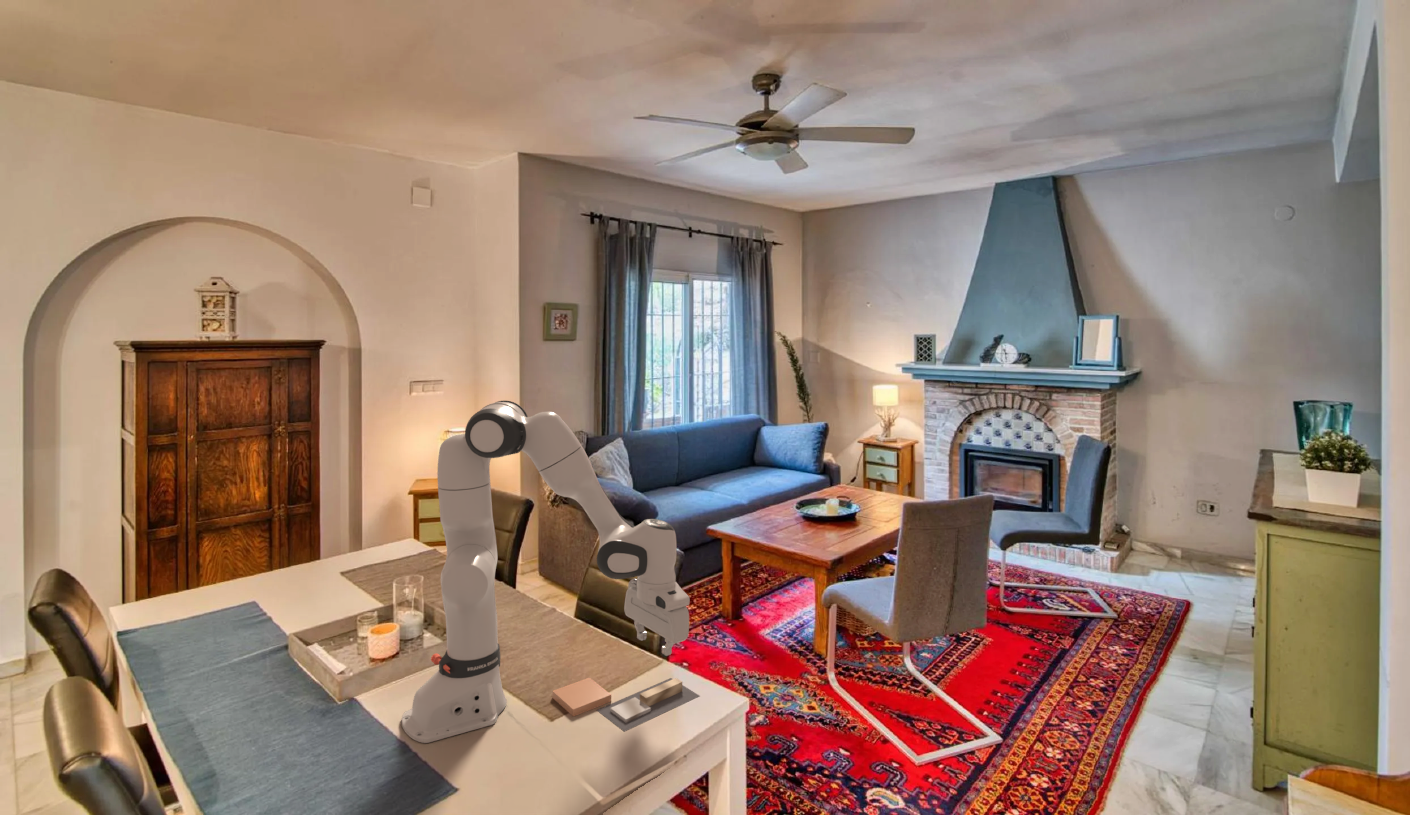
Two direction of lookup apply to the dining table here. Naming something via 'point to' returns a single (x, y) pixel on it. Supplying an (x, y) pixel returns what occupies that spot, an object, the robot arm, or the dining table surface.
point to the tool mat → (655, 708)
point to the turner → (646, 700)
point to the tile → (581, 696)
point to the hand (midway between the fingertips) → (653, 646)
